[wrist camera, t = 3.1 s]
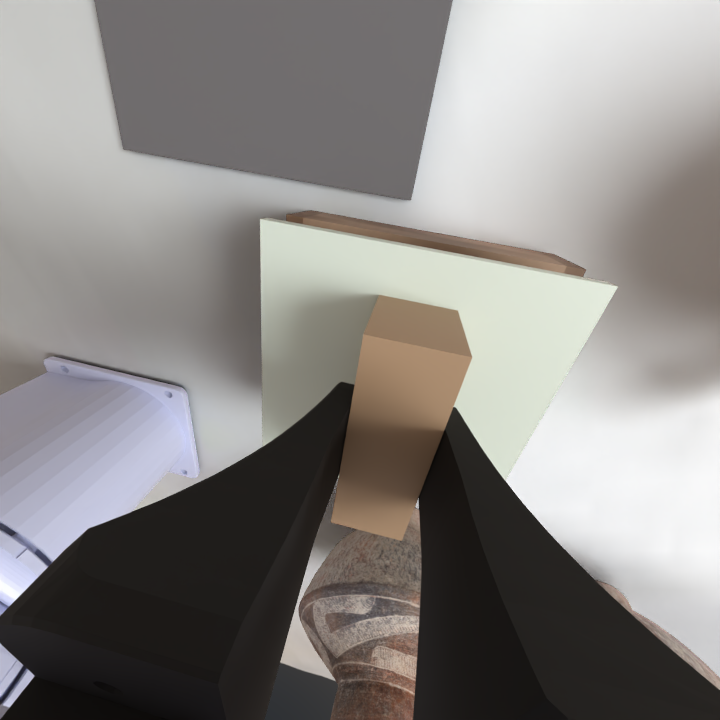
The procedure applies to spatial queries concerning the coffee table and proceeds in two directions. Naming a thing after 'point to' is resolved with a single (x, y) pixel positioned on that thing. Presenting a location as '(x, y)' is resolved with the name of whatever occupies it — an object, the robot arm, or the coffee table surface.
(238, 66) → the mat
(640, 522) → the coffee table surface
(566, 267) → the tea box
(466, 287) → the lid
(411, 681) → the pottery
